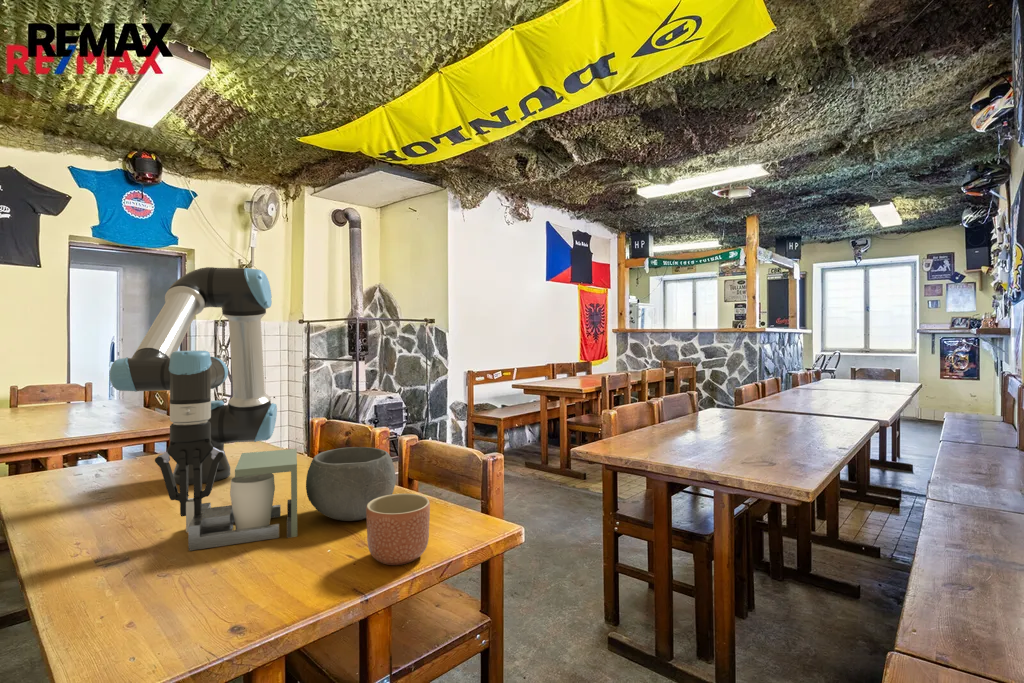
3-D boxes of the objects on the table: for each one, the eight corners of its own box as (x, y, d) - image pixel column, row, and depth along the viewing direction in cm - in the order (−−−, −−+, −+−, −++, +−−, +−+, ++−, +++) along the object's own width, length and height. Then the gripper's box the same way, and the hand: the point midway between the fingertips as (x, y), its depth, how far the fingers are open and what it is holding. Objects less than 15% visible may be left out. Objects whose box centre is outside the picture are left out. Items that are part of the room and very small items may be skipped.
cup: (255, 539, 109) (255, 484, 108) (220, 535, 111) (220, 481, 111) (283, 524, 117) (283, 473, 117) (250, 521, 120) (250, 470, 119)
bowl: (291, 515, 123) (290, 454, 123) (367, 495, 139) (367, 441, 138) (333, 539, 109) (332, 470, 109) (412, 514, 124) (412, 454, 124)
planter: (352, 565, 97) (352, 509, 97) (390, 540, 109) (390, 490, 108) (408, 576, 92) (408, 517, 92) (441, 549, 104) (441, 497, 104)
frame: (200, 525, 117) (200, 503, 116) (280, 514, 123) (280, 494, 123) (188, 550, 103) (188, 526, 103) (279, 537, 110) (278, 514, 109)
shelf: (242, 519, 120) (241, 453, 120) (296, 512, 125) (296, 448, 125) (235, 545, 106) (234, 469, 105) (297, 536, 111) (297, 464, 110)
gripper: (150, 426, 103) (150, 541, 103) (222, 422, 108) (223, 531, 109) (159, 420, 110) (159, 528, 110) (227, 417, 115) (227, 519, 115)
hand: (191, 529), depth 109 cm, fingers closed
